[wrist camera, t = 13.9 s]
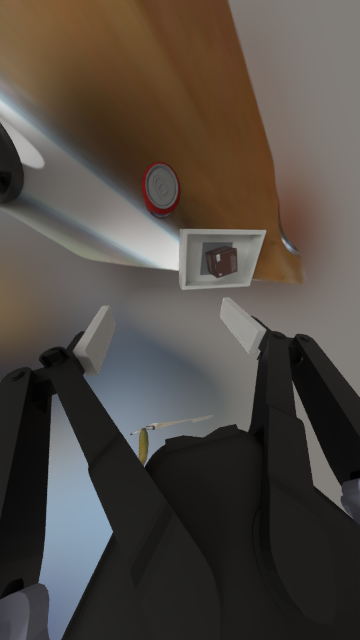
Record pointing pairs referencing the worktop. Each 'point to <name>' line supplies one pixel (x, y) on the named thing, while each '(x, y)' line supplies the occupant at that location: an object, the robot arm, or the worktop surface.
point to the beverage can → (160, 189)
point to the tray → (204, 240)
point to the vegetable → (143, 446)
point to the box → (222, 261)
